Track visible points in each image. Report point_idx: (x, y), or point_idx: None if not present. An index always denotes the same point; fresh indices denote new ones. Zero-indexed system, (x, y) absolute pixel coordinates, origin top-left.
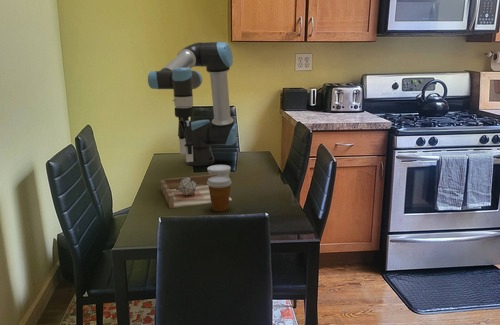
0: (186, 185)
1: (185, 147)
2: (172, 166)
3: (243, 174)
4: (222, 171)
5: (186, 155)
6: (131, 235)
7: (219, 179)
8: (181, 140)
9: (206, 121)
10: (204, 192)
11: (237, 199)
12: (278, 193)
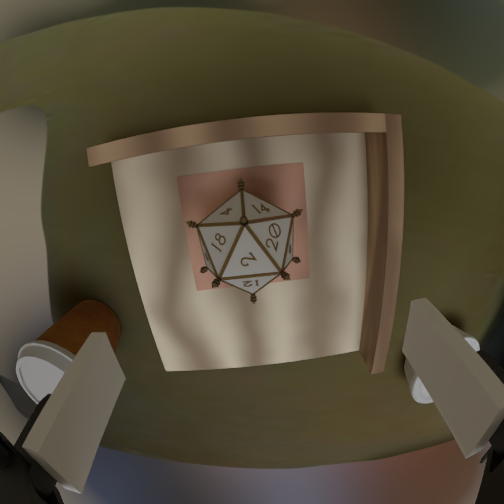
0: (203, 242)
1: (430, 385)
2: None
3: (417, 405)
4: (411, 383)
5: (66, 373)
6: None
7: None
8: (483, 415)
9: None
10: (270, 300)
11: (179, 382)
12: (216, 455)
